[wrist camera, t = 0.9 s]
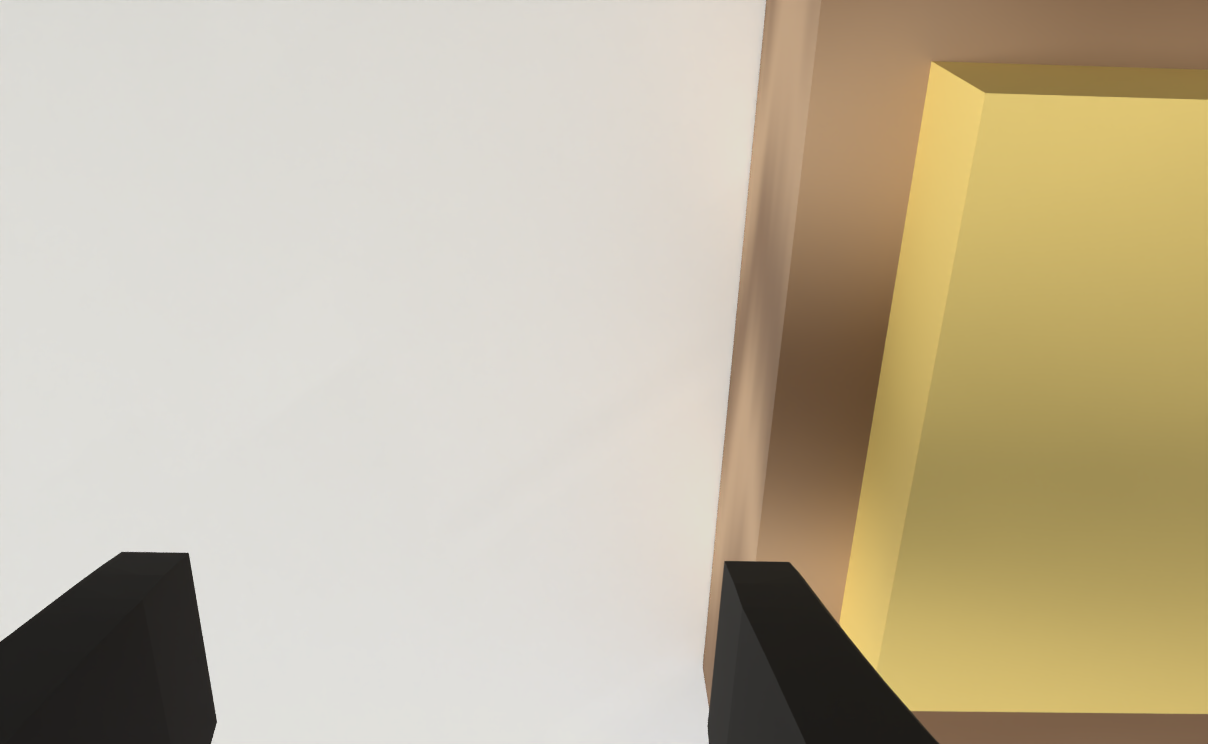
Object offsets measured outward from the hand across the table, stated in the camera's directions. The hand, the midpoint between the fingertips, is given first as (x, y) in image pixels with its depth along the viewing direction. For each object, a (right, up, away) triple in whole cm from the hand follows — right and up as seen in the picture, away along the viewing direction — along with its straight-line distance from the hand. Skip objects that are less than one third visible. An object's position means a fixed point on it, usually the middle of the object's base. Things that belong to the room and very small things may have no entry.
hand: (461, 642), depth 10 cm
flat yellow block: (+8, +2, +6) cm, 10 cm away
